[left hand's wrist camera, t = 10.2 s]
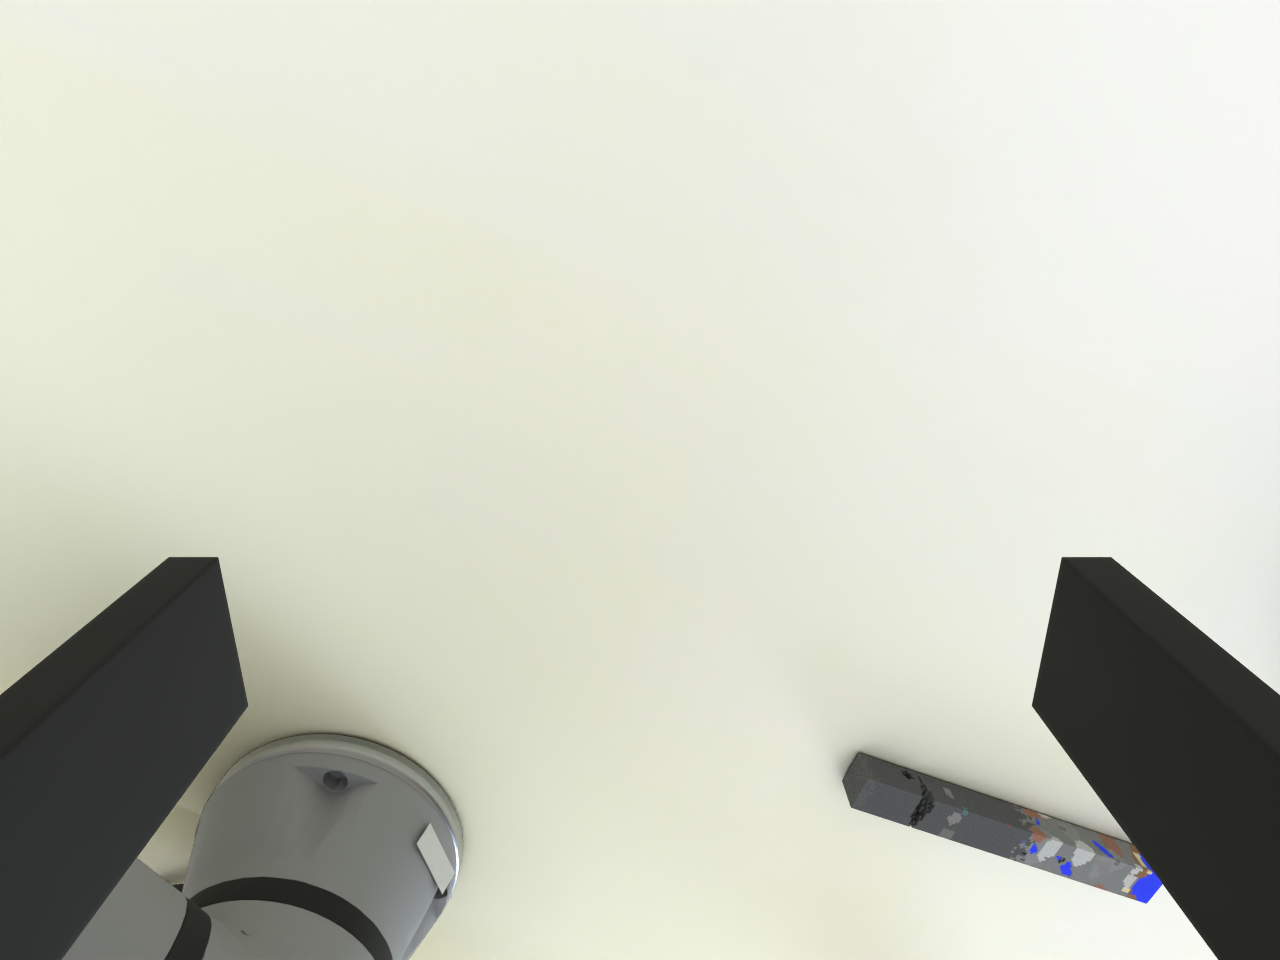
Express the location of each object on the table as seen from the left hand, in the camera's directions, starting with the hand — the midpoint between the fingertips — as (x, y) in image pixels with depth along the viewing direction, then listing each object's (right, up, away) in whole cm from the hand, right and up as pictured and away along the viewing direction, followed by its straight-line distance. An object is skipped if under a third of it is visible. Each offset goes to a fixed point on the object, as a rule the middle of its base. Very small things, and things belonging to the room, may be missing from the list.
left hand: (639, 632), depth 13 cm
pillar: (+22, -18, +36) cm, 46 cm away
